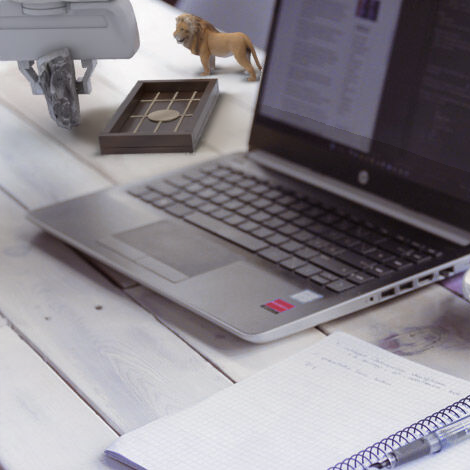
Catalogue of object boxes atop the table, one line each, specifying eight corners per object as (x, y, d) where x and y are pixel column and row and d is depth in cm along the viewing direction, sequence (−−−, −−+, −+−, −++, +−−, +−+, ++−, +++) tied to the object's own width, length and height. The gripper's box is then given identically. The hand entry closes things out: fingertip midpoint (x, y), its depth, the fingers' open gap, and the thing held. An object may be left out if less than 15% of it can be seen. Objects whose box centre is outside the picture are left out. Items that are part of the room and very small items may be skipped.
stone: (52, 103, 127) (40, 29, 122) (88, 100, 127) (77, 26, 123) (41, 144, 113) (27, 62, 109) (81, 140, 114) (68, 59, 109)
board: (101, 157, 113) (97, 136, 111) (140, 99, 131) (137, 80, 130) (193, 155, 112) (191, 134, 111) (219, 97, 131) (217, 78, 130)
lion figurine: (172, 78, 139) (165, 17, 135) (189, 68, 143) (182, 8, 139) (265, 85, 135) (260, 22, 131) (279, 74, 139) (275, 12, 135)
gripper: (-53, -12, 110) (-30, 103, 116) (124, -15, 109) (138, 100, 116) (-34, -23, 115) (-12, 86, 121) (135, -26, 115) (148, 84, 121)
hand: (62, 93), depth 119 cm, fingers closed on stone, 4 cm apart
